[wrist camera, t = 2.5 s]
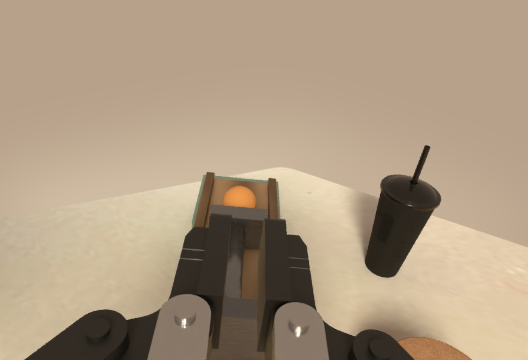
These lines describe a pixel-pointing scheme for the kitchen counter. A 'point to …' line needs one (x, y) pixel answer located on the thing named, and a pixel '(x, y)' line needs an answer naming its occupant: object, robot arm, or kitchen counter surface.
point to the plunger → (239, 287)
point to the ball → (239, 197)
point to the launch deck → (264, 200)
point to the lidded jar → (431, 349)
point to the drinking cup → (399, 219)
